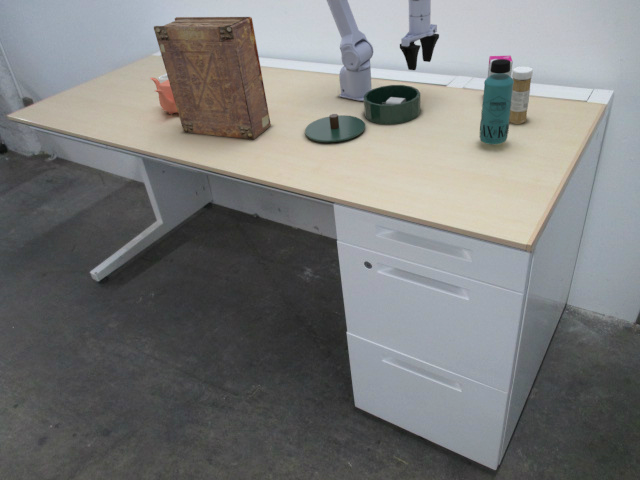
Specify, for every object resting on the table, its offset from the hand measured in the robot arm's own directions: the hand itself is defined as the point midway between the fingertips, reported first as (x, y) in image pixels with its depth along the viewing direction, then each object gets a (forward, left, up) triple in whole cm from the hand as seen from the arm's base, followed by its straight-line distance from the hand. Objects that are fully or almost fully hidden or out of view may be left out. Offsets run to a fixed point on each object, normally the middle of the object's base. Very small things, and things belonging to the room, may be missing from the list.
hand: (419, 65), depth 144 cm
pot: (-2, -11, -10) cm, 15 cm away
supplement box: (+19, +10, -11) cm, 24 cm away
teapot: (-65, -40, -11) cm, 77 cm away
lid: (-9, -28, -10) cm, 31 cm away
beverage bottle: (+31, -16, -11) cm, 36 cm away
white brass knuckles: (-91, -20, -11) cm, 94 cm away
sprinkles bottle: (+30, -1, -11) cm, 32 cm away
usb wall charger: (-2, -12, -10) cm, 16 cm away
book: (-39, -42, -11) cm, 58 cm away
